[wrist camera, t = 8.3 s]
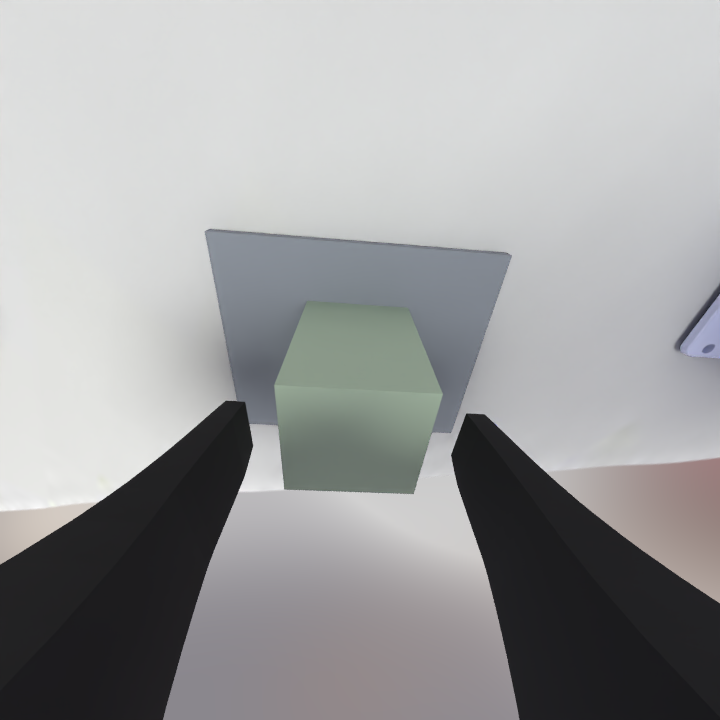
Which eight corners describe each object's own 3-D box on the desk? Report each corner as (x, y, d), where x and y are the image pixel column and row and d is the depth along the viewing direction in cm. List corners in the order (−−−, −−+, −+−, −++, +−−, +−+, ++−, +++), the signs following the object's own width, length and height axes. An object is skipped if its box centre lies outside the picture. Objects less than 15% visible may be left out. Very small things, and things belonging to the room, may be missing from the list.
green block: (408, 307, 13) (442, 394, 8) (394, 387, 15) (413, 493, 10) (307, 300, 12) (274, 385, 7) (308, 382, 15) (284, 489, 10)
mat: (506, 252, 12) (511, 255, 12) (448, 426, 17) (450, 432, 17) (210, 229, 11) (204, 231, 11) (244, 417, 17) (241, 423, 16)
